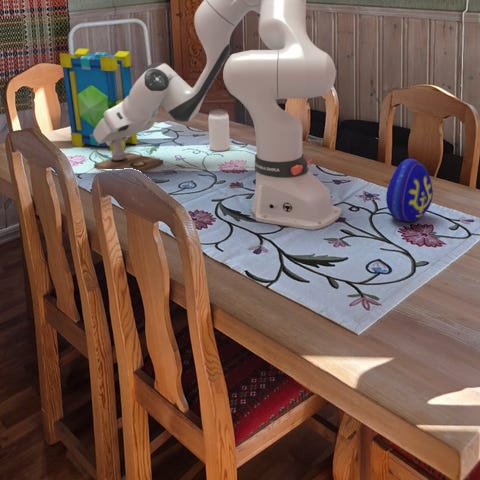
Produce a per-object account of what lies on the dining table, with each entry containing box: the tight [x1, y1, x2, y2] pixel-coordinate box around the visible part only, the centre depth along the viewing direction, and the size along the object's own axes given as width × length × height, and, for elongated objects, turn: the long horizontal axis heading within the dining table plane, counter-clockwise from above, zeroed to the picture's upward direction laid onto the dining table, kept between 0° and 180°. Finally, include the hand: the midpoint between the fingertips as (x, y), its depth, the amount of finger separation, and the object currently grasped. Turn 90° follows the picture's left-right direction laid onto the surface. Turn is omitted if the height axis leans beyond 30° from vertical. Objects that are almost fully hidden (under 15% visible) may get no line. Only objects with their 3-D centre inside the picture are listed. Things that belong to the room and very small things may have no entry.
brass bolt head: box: [133, 162, 143, 166], centre depth 203 cm, size 3×3×1 cm
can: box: [207, 109, 231, 153], centre depth 217 cm, size 6×6×12 cm
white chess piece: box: [111, 138, 126, 160], centre depth 206 cm, size 4×4×8 cm
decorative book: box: [58, 47, 138, 152], centre depth 221 cm, size 14×23×30 cm, turn 62°
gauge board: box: [93, 151, 164, 173], centre depth 206 cm, size 15×14×1 cm
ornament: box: [385, 158, 434, 223], centre depth 161 cm, size 11×9×15 cm
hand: (115, 141), depth 206 cm, fingers open, 4 cm apart
